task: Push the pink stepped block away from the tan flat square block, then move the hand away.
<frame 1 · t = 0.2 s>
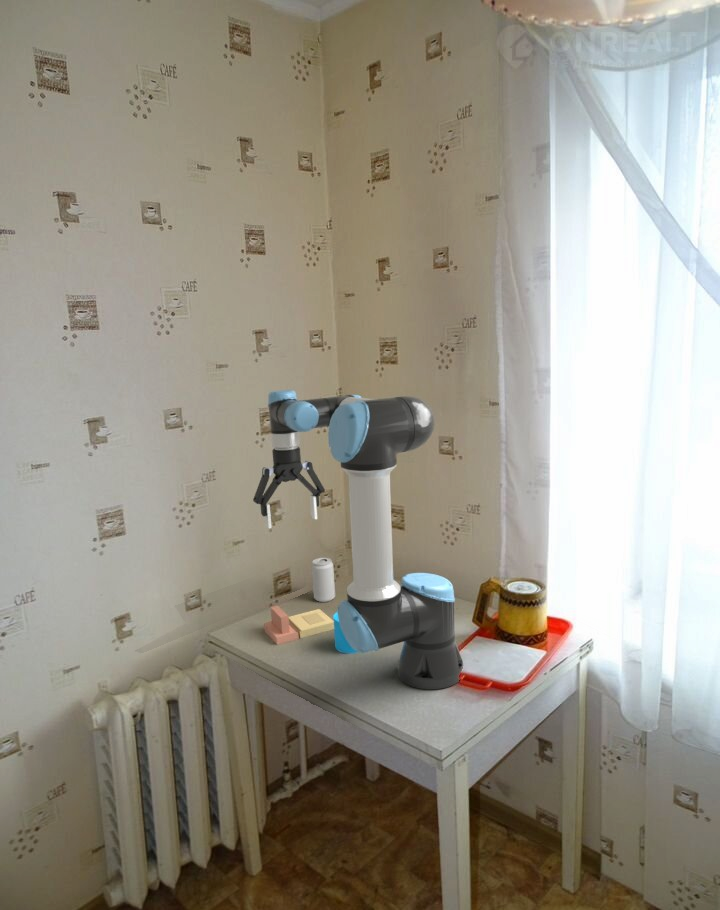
hand: (291, 522, 187), 27 cm above the table, fingers open, 13 cm apart
pink stepped block: (280, 623, 179), point 3 cm above the table, slide at 0.0 cm
beverage can: (324, 599, 201), on the table
mug: (349, 643, 173), on the table
tan flat square block: (310, 626, 183), on the table
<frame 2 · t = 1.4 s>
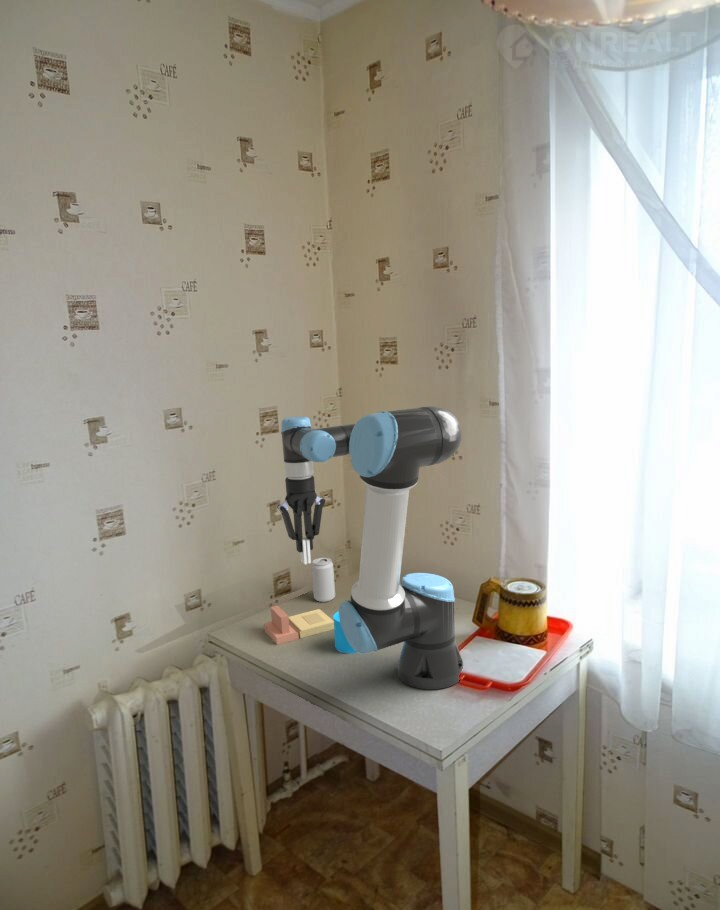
hand: (305, 562, 179), 18 cm above the table, fingers closed
nothing on the table moved.
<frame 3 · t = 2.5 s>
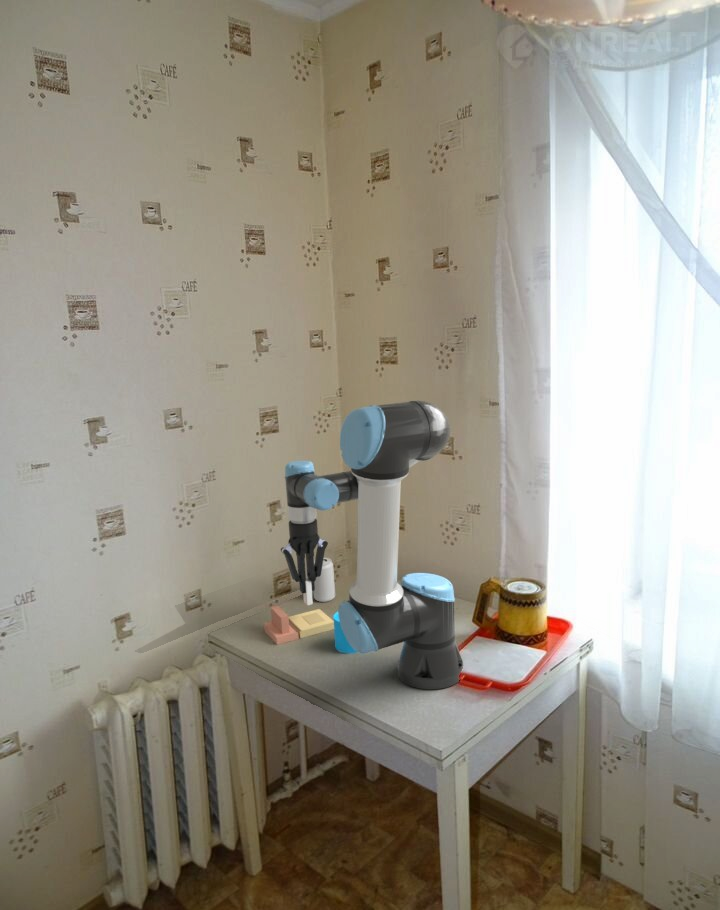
hand: (308, 602, 182), 7 cm above the table, fingers closed
nothing on the table moved.
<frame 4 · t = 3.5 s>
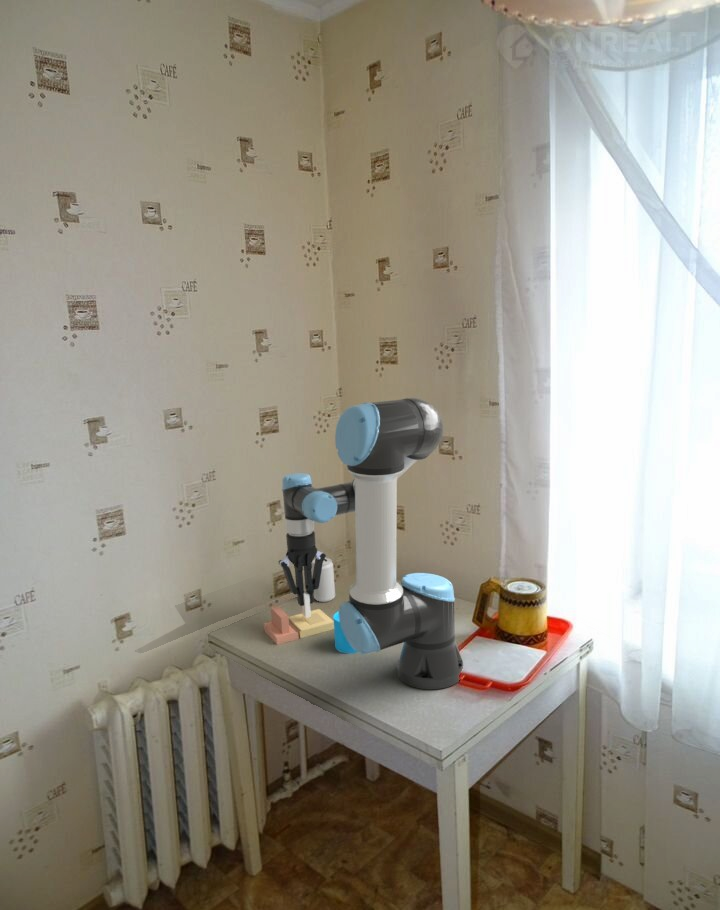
hand: (306, 615, 182), 3 cm above the table, fingers closed
nothing on the table moved.
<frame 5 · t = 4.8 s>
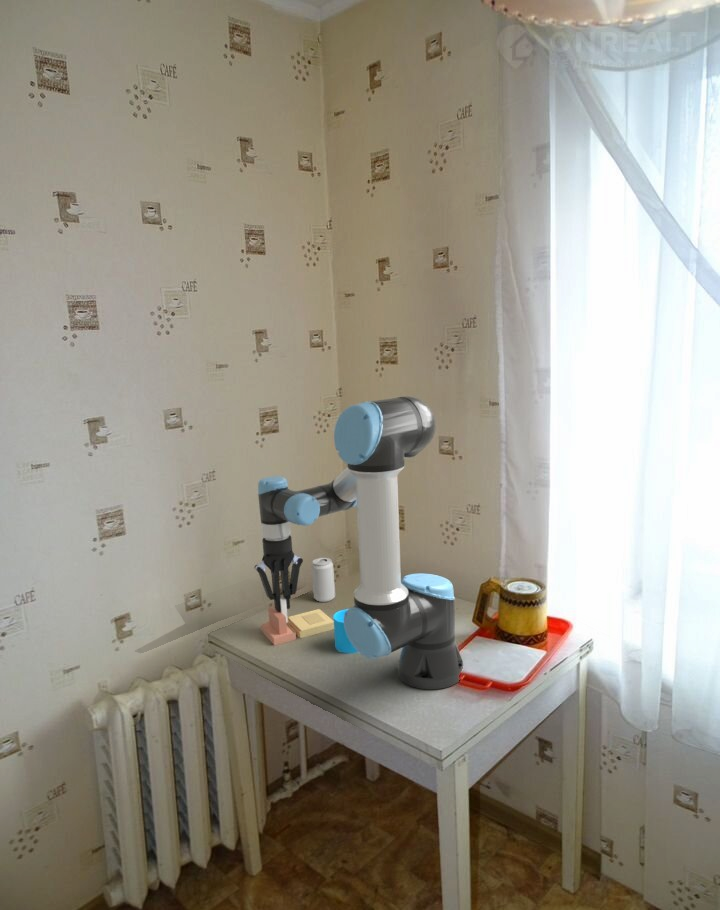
hand: (283, 620, 179), 4 cm above the table, fingers closed
pink stepped block: (277, 623, 178), point 3 cm above the table, slide at 0.7 cm, touching gripper
everything else where it was.
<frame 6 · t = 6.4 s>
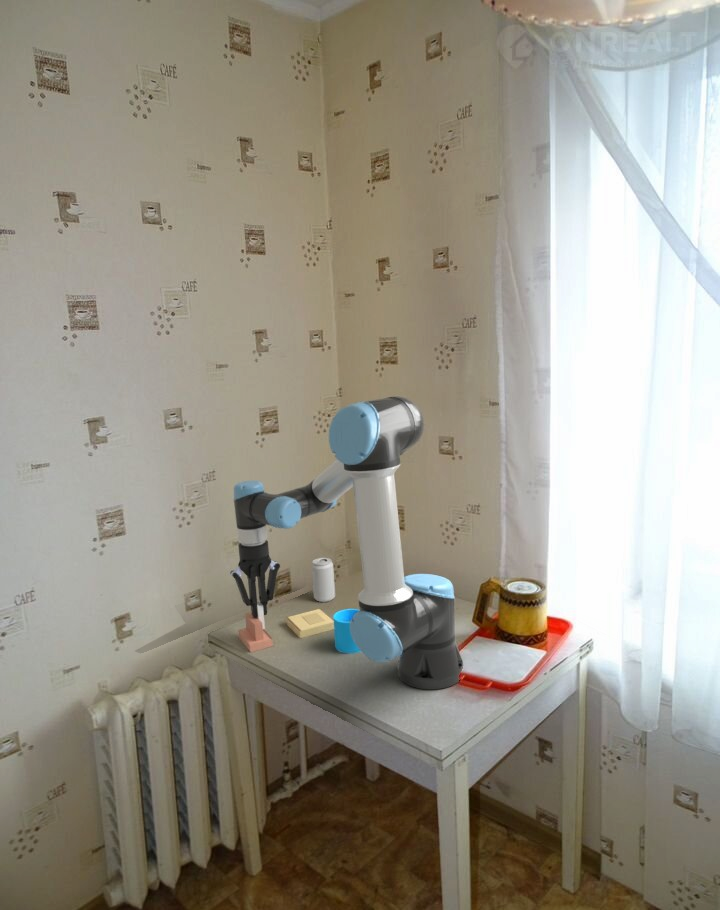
hand: (260, 627, 176), 3 cm above the table, fingers closed
pink stepped block: (254, 629, 176), point 3 cm above the table, slide at 7.1 cm, touching gripper
everything else where it was.
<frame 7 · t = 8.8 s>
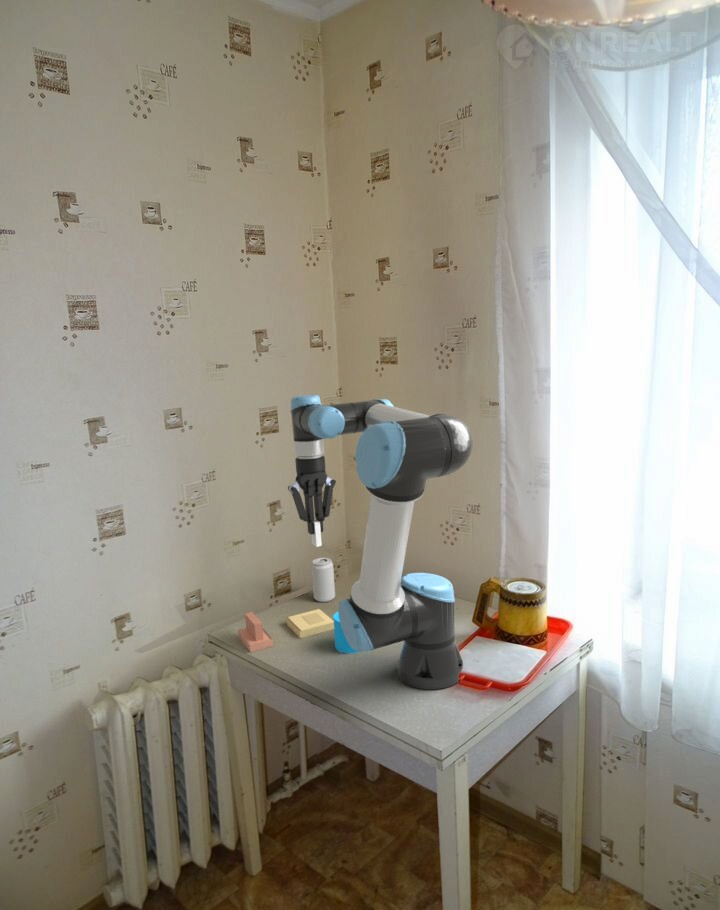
hand: (316, 545, 175), 24 cm above the table, fingers closed
pink stepped block: (254, 629, 176), point 3 cm above the table, slide at 7.2 cm
everything else where it was.
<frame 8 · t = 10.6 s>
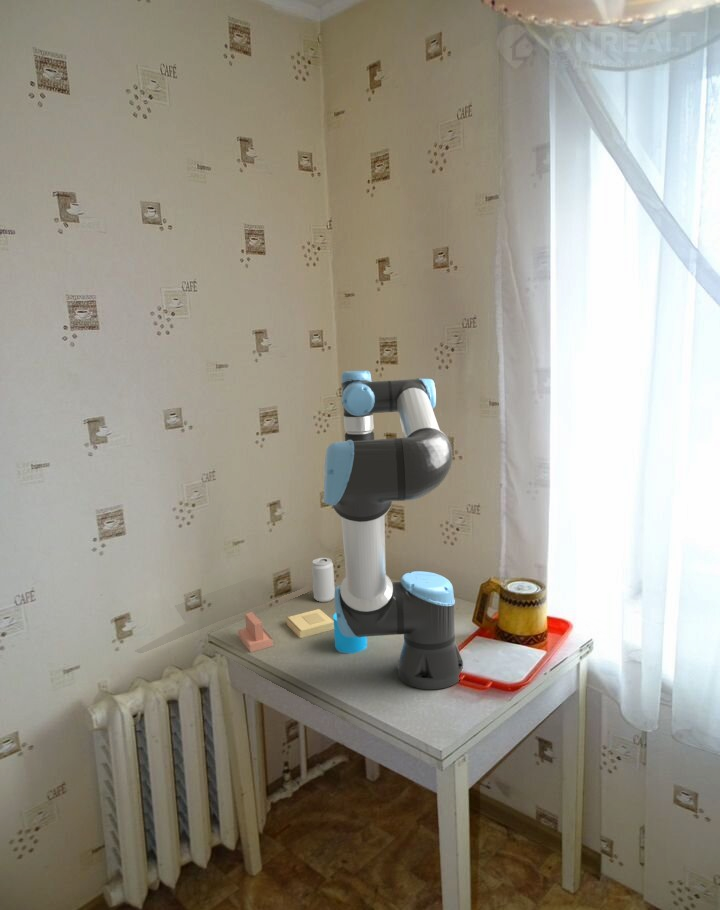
hand: (364, 520, 176), 29 cm above the table, fingers closed
nothing on the table moved.
at the end: pink stepped block slide at 7.2 cm; pink stepped block touching nothing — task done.
